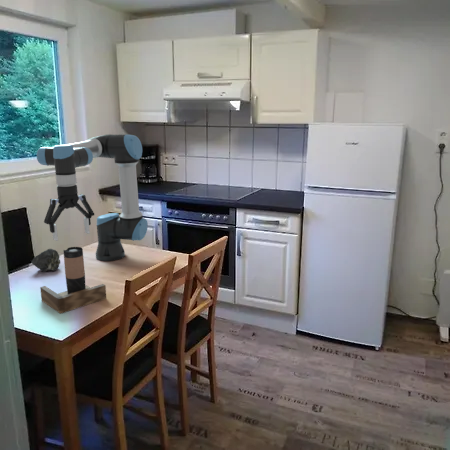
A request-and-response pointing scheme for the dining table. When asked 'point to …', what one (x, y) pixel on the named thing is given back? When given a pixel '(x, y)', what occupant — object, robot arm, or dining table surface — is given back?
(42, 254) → the rock
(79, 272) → the travel mug
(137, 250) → the dining table surface
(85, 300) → the wooden l-shaped block
